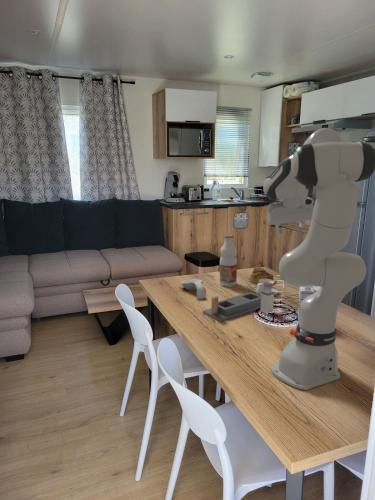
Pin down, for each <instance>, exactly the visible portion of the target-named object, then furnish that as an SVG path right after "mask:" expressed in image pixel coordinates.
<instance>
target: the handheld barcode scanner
mask: <svg viewBox="0 0 375 500" xmlns="http://www.w3.org/2000/svg"><path fill="white" fill-rule="evenodd" d="M203 284H204V283H203V280H202V279H197V278H196V279H195V278H193V279H192V278H191V279H185V280H182V281H180V285H181V286H182V287H183V288H184V289H186V290H187V289H189V290H188V291H196V300H205V299H206V292H205V289H204V285H203ZM196 289H197V290H196ZM204 298H205V299H204Z"/></svg>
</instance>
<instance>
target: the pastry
mask: <svg viewBox="0 0 375 500" xmlns="http://www.w3.org/2000/svg"><path fill="white" fill-rule="evenodd" d="M260 279H271V280H273V281H274V282H275V279H274V275H273V273H270V272H268V271H267V270H266V269H264V268H262V267H260V266H256V267H253V270H252V272H251V274H250V276H249V281H250V283H252V284H254V285H257V284H258V283H260V282H259V280H260Z"/></svg>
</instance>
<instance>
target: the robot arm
mask: <svg viewBox="0 0 375 500" xmlns="http://www.w3.org/2000/svg"><path fill="white" fill-rule="evenodd" d="M374 173H375V148H374V147H373V146H372V145H371V144H370V143H367V142H363V141H353V140H352V141H351V142H350V141H342V138H341V136H340V134H339V133H338V132H337V131H336V130H334V129H333V128H329V127H323V128H319V129H317V130H315V131H314V132H312V133H311V134H310V135H309V136H308V137H307V139H306V140H305V141H304V143H303V144H302V145H299V146H298V147H296V148H295V150H294V152H293V154H291V155H290V156H288V157H286V158H285V159H283V160H282V161H281V162H280V163H279V164H278V165H277V166H276V167H275V169H274V170H273V171H272V172H271V173H269V174H268V175H267V176H266V177H265V179H264V182H263V194H264V196H265V197H267V198H268V199H269V200H270V201H274V202H271V203H269V205H268V206H267V217H266V222H267V223H268V224H269V225H271V226H275V228H276V233H277V234H282V233H283V229H282V228H281V227H280V226H281V225H282V224H290V223H299V225H297V226H296V231H298V232H300V231H301V232H302V231H303V227H304V226H305V224H306V221H310V224H309V229H308V232H307V234H306V236H305V238H304V239H303V241H302V242H301V243H300V244H299V245H298V246H296V247H295V248H293V249H292V250H289V251H288V252H285V254H284V255H282V256H281V258H280V260H279V263H278V272H279V277H281V279H282V281H283V282H284V283H286V284H290V285H293V286H299V287H318V288H319V289H317V291H314V294H312V295H309V296H307V297H306V298H305V299H304V300H303V301H302V302H301V305H300V317H299V321H298V323H297V326H296V328H295V329H294V328H291V329H290V330H289V331H290V332H289V334H290V336H293V338H292V339H291V340H290V342H289V343H288V344H287V345H286V347H284V349H283V350H282V352H281V353H280V355H279V360H278V361H277V362H276V363H275V364H274V365H272V366H271V368H270V372H271V374H272V375H273V376H274V377H276V378H277V379H278V380H280V381H281V382H283V383H285V384H286V385H289V386H290V387H293V388H295V389H300V390H304V391H307V390H311V389H314V388H316V387H319V386H322V385H326V384H328V383H331V382H334V381H337V380H340V379H341V373H340V372H339V370H338V368H339V367H338V366H339V363H338V362H339V360H338V359H339V358H338V354H339V353H338V349H337V347H336V343H335V342H336V340H337V328H336V322H337V315H338V310H339V306H340V304H341V302H342V300H343V299H344V297H346V295H347V294H348V293H350V292H351V291H352V290H353V289H354V288H356V287H358V286H360V285H361V284H362V283H363V281H365V277H366V275H367V265H366V263H365V260H364V259H363V258H362V256H360V255H359V254H356V253H351V252H345V251H341V250H343V249H344V248H345V247H346V246H347V245H348V243H349V241H350V237H351V233H352V230H353V225H354V223H355V222H354V221H355V218H356V215H357V207H358V189H357V186H356V185H355V184H354V183H353V182H355V183H357V182H361V181H366V180H368V179H370V178H371V177H372V176H373V174H374ZM314 188H315V191H316V192H315V193H316V197H315V199H313V198H312V197H310V196H311V195H312V194H313V192H314ZM277 200H280V201H277Z"/></svg>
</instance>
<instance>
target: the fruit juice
mask: <svg viewBox="0 0 375 500" xmlns="http://www.w3.org/2000/svg"><path fill="white" fill-rule="evenodd" d="M223 237H224V242H223V245H222V246H221V247H220V250H219V251H220V258H219V285H220V286H222V287H226V288H227V287H229V288H230V287H234V286H236V285H237V281H238V280H237V279H238V277H237V275H238V274H237V272H238V268H237V267H238V259H237V253H238V249H237V247H236V246H235V244H234V235H233V234H224V236H223Z"/></svg>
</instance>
